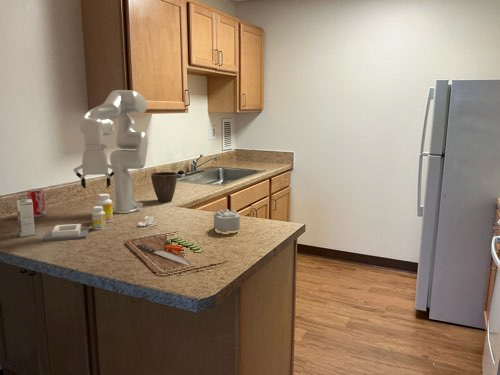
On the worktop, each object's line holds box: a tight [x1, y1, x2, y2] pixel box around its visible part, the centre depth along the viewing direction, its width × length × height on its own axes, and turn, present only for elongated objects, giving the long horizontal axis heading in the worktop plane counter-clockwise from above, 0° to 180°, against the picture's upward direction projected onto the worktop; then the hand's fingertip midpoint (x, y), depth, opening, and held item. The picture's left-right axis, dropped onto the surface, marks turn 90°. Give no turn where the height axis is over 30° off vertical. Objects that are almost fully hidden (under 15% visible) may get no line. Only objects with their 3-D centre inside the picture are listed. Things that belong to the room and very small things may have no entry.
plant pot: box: [150, 171, 178, 203], centre depth 230 cm, size 15×15×16 cm
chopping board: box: [124, 230, 203, 274], centre depth 150 cm, size 45×27×3 cm, turn 33°
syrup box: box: [16, 198, 36, 238], centre depth 167 cm, size 6×6×14 cm
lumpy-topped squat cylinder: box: [213, 208, 241, 232], centre depth 177 cm, size 10×13×9 cm
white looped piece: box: [137, 215, 155, 227], centre depth 184 cm, size 9×8×4 cm
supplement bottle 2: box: [91, 205, 107, 231], centre depth 177 cm, size 5×5×10 cm
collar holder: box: [42, 223, 90, 242], centre depth 168 cm, size 16×14×3 cm
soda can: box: [27, 188, 47, 218], centre depth 197 cm, size 7×7×13 cm
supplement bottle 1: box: [96, 193, 114, 224], centre depth 188 cm, size 7×7×13 cm
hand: (96, 187), depth 174 cm, fingers open, 9 cm apart
